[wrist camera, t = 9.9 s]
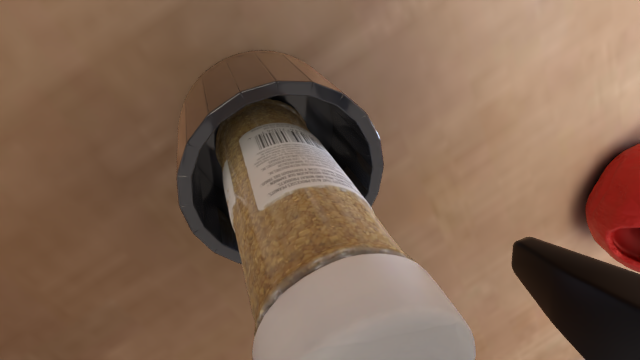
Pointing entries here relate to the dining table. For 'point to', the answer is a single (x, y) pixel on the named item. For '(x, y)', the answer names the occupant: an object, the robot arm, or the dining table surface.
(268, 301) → the sprinkles bottle
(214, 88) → the ceramic cup
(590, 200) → the pomegranate
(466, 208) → the dining table surface
